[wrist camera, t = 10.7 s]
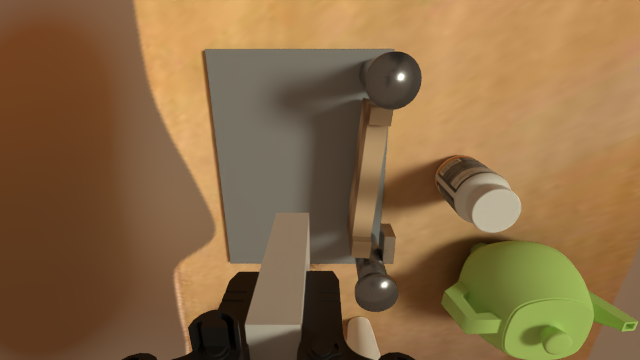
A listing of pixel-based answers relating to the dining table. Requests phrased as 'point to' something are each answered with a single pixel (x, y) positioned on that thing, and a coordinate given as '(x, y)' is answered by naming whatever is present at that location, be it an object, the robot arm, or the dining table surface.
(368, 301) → the post
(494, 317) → the teapot
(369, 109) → the wooden block
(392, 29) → the dining table surface
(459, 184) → the pill bottle
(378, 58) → the hinge post
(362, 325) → the cup
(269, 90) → the base board
